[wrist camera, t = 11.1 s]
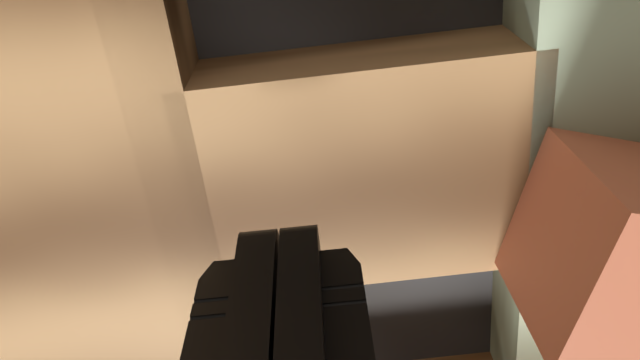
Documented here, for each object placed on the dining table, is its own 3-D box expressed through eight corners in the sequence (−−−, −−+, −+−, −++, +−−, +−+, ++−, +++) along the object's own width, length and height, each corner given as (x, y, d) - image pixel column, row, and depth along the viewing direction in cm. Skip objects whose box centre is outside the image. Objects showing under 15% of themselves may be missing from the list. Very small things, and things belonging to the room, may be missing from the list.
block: (547, 126, 14) (631, 213, 11) (698, 152, 15) (826, 243, 11) (494, 262, 16) (550, 374, 13) (630, 281, 17) (721, 393, 13)
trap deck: (-182, -223, 13) (-508, -283, 8) (812, -346, 13) (1185, -497, 7) (84, 415, 22) (20, 585, 17) (660, 353, 22) (776, 507, 17)
